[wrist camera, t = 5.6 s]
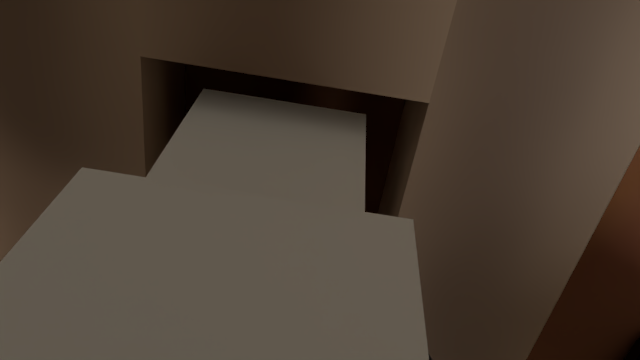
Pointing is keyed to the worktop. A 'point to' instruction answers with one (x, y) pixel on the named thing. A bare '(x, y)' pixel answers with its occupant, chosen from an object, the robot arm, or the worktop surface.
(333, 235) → the end cover
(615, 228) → the worktop surface
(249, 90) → the worktop surface
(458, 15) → the walnut bore block
